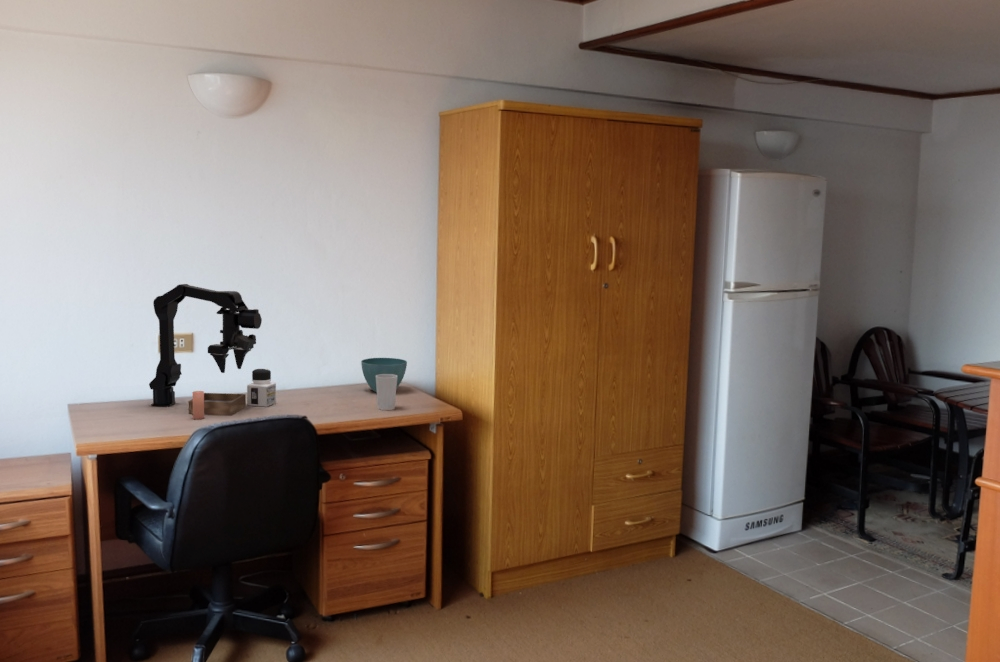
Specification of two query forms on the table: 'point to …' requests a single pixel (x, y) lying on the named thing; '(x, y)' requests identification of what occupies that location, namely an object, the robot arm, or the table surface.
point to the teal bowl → (382, 369)
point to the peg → (198, 404)
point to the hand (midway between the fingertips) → (231, 370)
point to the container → (261, 389)
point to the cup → (386, 391)
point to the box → (221, 403)
